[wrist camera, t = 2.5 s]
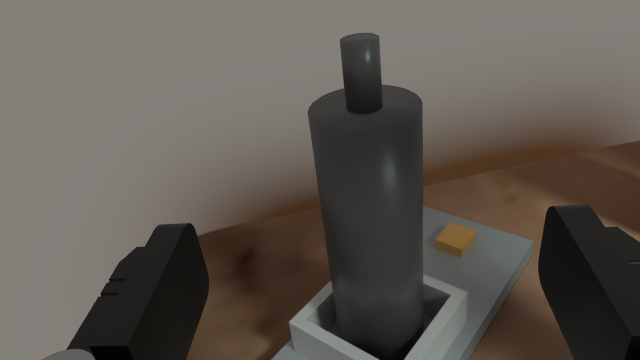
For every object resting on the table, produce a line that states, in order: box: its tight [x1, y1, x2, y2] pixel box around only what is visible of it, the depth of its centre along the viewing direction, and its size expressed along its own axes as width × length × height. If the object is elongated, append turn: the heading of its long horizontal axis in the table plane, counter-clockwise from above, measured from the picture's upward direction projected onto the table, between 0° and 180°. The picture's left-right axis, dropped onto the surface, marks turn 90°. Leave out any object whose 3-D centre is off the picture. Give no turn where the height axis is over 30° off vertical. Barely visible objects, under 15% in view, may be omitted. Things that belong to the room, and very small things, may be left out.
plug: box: [308, 33, 424, 360], centre depth 25 cm, size 5×5×18 cm
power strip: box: [271, 206, 534, 360], centre depth 31 cm, size 20×9×4 cm, turn 141°
